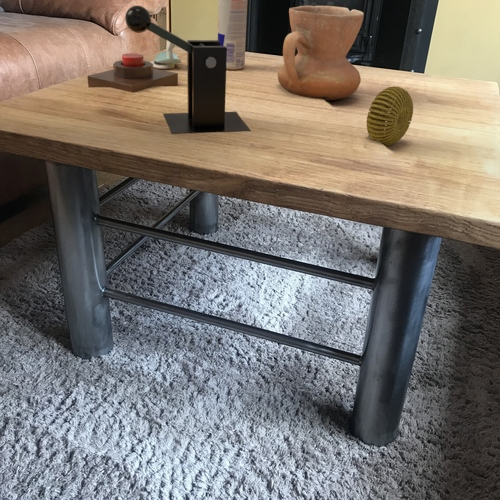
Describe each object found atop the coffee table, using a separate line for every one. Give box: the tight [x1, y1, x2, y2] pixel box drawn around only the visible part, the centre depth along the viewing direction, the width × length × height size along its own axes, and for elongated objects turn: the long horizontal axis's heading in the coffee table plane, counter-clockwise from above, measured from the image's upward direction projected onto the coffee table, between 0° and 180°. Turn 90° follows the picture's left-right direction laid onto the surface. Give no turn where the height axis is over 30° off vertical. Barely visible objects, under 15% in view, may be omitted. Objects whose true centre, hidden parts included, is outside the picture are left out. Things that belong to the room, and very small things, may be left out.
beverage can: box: [217, 0, 248, 71], centre depth 112 cm, size 6×6×15 cm
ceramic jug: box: [277, 5, 365, 101], centre depth 96 cm, size 18×14×14 cm
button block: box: [87, 59, 179, 94], centre depth 97 cm, size 12×10×4 cm
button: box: [121, 52, 145, 67], centre depth 96 cm, size 4×4×2 cm
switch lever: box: [124, 5, 205, 54], centre depth 73 cm, size 13×3×3 cm, turn 105°
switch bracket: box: [162, 39, 252, 135], centre depth 77 cm, size 11×9×12 cm
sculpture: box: [366, 86, 414, 147], centre depth 77 cm, size 8×4×8 cm, turn 136°
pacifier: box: [149, 40, 182, 70], centre depth 111 cm, size 7×6×6 cm
